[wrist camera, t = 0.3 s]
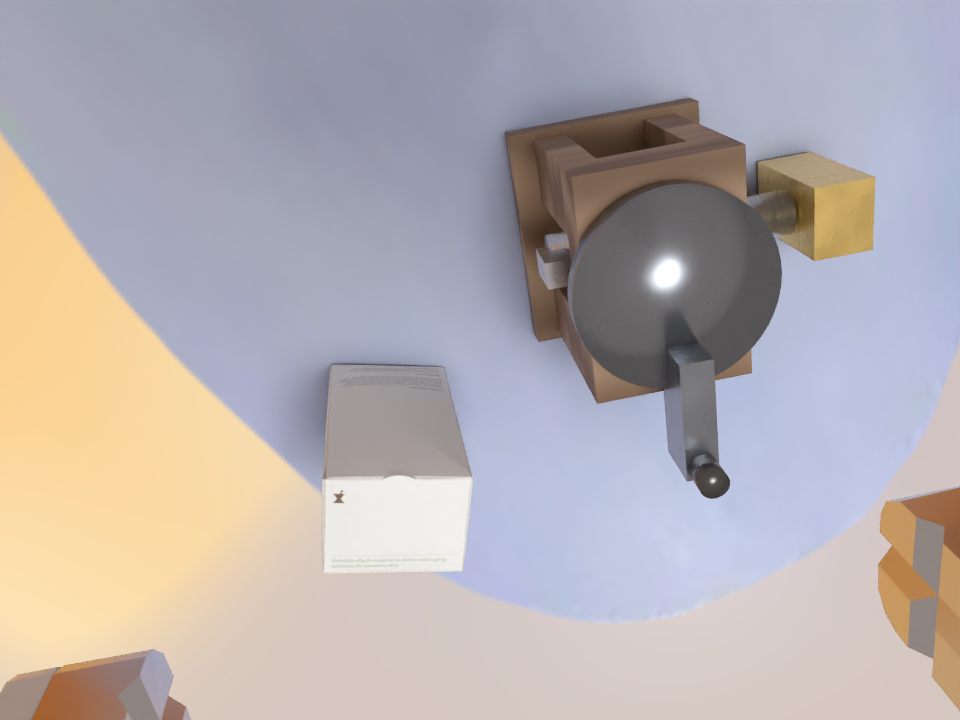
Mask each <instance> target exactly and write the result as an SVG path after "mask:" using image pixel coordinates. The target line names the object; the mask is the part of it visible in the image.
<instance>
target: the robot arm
mask: <svg viewBox="0 0 960 720" xmlns="http://www.w3.org/2000/svg"><path fill="white" fill-rule="evenodd" d="M880 533H881V534H882V535H883V536H884V537H885V538H886V539H887V540H888V542H889V543H890V544H891V545H892V547H891V548H890V549H889V550H888V552H887V553H886V555H885V556H884V557H883V559H882V560H881V561H880V563H879V564H878V589H879V592H880V596H881V599H882V603H883V607H884V610H885V613H886V615H887V617H888V618H889V620H890V622H891V624H892V626H893V628H894V630H895V631H896V632H897V634H898V635H899V636H900V638H901V639H902V640H903V641H904V643H905V644H906V645H907V647H909V648H911V649H913V650H916V651H918V652H920V653H922V654H924V655H926V656H928V657H931V658H933V673H932V677H933V678H934V680H935V681H936V682H937V683H938V685H939V686H940V687H941V688H942V690H943V691H944V692H945V693H946V694H947V695H948V697H949V698H950V699H951V700H952V702H953V703H954V704H955V705H956V707H957V708H958V709H959V710H960V486H958V487H953V488H948V489H944V490H939V491H934V492H929V493H924V494H919V495H915V496H910V497H905V498H901V499H896V500H891V501H886V504H885V506H884V508H883V510H882V512H881V521H880ZM172 680H173V674H172V672H171V669H170V667H169V665H168V663H167V661H166V659H165V656H164V654H163V653H161V652H159V651H156V650H154V649H153V650H148V651H142V652H136V653H131V654H125V655H120V656H114V657H109V658H103V659H97V660H92V661H86V662H81V663H75V664H70V665H65V666H63V667H56V668H51V669H45V670H40V671H35V672H29V673H24V674H19V675H17V676H15V677H14V678H12V679H11V680H10V681H8V682H7V683H6V684H5V685H4V687H3V689H2V691H1V693H0V720H191V718H190V716H189V713H188V711H187V708H186V707H185V706H184V705H182V704H181V703H179V702H177V701H176V700H174V699H173V698H171V697H169V696H168V694H169V691H170V687H171V684H172Z"/></svg>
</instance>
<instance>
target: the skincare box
mask: <svg viewBox="0 0 960 720" xmlns="http://www.w3.org/2000/svg"><path fill="white" fill-rule="evenodd" d="M472 485H473V477H472V474H471V470H470V466H469V463H468V458H467V455H466V451H465V447H464V443H463V439H462V435H461V431H460V427H459V424H458V420H457V416H456V412H455V408H454V404H453V400H452V396H451V392H450V388H449V384H448V381H447V377H446V373H445V370H444V367H427V366H388V365H332V366H331V367H330V377H329V391H328V403H327V416H326V431H325V452H324V471H323V478H322V554H323V572H324V573H358V572H359V573H362V572H433V571H462V570H463V565H464V558H465V550H466V542H467V533H468V524H469V514H470V505H471V495H472Z"/></svg>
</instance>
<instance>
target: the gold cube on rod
mask: <svg viewBox="0 0 960 720" xmlns="http://www.w3.org/2000/svg"><path fill="white" fill-rule="evenodd" d="M874 196H875V177H874V176H871V175H868V174H866V173H863V172H861V171H858V170H856V169H853V168H851V167H848V166H845V165H843V164H840V163H838V162H835V161H833V160H830V159H827V158H825V157H822V156H820V155H817V154H815V153H812V152H807V153H802V154H796V155H791V156H786V157H780V158H775V159H770V160H764V161H759V162H758V195H752V196H747V204H748V205H749V206H751V207H752V208H753V209H754V210H755V211H756V212H757V213H758V214H759V215H760V216H761V217H762V219H763V220H764V221H765V222H766V224H767V225H768V227H769V229H770V230H771V232H772V234H773V236H774V238H775V237H777V238H779V239H780V240H782V241H784V242H785V243H787V244H788V245H790V246H791V247H793V248H795V249H796V250H798V251H799V252H801V253H802V254H804V255H806V256H807V257H809V258H810V259H812V260H814V261H817V260H822V259H827V258H832V257H838V256H843V255H848V254H853V253H858V252H863V251H869V250H873V224H874ZM544 242H545V247H543V248H538V249H536V253H537V261H538V268H539V274H540V276H541V278H542V279H543V281H544V283H545V285H546V286H547V288H548V290H550V289H555V288H560V287H566V286H568V278H569V273H570V268H571V257H570V249H569V241H568V236H567V235H566V234H565V232H564V231H563V232H558V233H552V234H547V235H545V238H544Z"/></svg>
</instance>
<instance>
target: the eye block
mask: <svg viewBox="0 0 960 720" xmlns="http://www.w3.org/2000/svg"><path fill="white" fill-rule="evenodd" d="M505 133H506V140H507V147H508V154H509V161H510V168H511V175H512V182H513V188H514V195H515V202H516V209H517V216H518V223H519V230H520V237H521V244H522V250H523V257H524V264H525V271H526V278H527V285H528V292H529V299H530V306H531V312H532V319H533V326H534V333H535V336H536V338H537V340H538V342H540V341H546V340H551V339H556V338H561V337H562V338H563V340H564V342H565V343H566V345H567V347H568V349H569V351H570V353H571V355H572V357H573V359H574V360H575V362H576V364H577V366H578V368H579V370H580V372H581V374H582V375H583V377H584V379H585V381H586V383H587V385H588V387H589V389H590V391H591V392H592V394H593V396H594V398H595V400H596V402H597V404H598V403H603V402H608V401H613V400H618V399H624V398H629V397H634V396H639V395H644V394H649V393H654V392H659V391H664V389H655V388H646V387H642V386H638V385H634V384H631V383H629V382H626V381H623V380H621V379H620V378H618V377H616V376H614V375H612V374H611V373H610V372H608V371H607V370H606V369H604V368H603V367H602V366H601V365H600V364H599V363H598V362H597V361H596V360H595V359H594V358H593V357H592V355H591V354H590V352H589V351H588V350H587V348H586V347H585V345H584V343H583V341H582V340H581V338H580V336H579V334H578V332H577V330H576V328H575V326H574V324H573V321H572V318H571V315H570V310H569V305H568V291H567V290H568V286H566V287H560V288H555V289H550V290H548V288H547V286H546V285H545V283H544V281H543V279H542V278H541V276H540V274H539V268H538V261H537V253H536V249H538V248H543V247H545V242H544V238H545V235H547V234H552V233H558V232H563V231H564V232H565V234H566V235H567V236H568V241H569V249H570V257H571V264H572V261H573V258H574V255H575V252H576V250H577V248H578V246H579V244H580V242H581V240H582V238H583V237H584V235H585V234H586V232H587V231H588V229H589V228H590V226H591V225H592V224H593V223H594V222H595V221H596V219H597V218H598V217H599V216H600V215H601V214H602V213H603V212H604V211H605V210H606V209H608V208H609V207H610V206H611V205H612V204H614V203H615V202H617V201H618V200H619V199H621V198H622V197H624V196H626V195H628V194H630V193H631V192H633V191H635V190H638V189H640V188H643V187H645V186H648V185H651V184H655V183H659V182H664V181H672V180H692V181H698V182H704V183H707V184H711V185H714V186H717V187H719V188H721V189H723V190H725V191H727V192H729V193H731V194H732V195H734V196H736V197H737V198H739V199H741V200H742V201H743V202H745V203H746V204H747V188H746V153H745V144H743V143H741V142H739V141H736V140H734V139H732V138H729V137H727V136H725V135H723V134H720V133H718V132H716V131H713V130H711V129H709V128H707V127H704V126H702V125H700V124H699V107H698V101H696V100H694V99H691V98H688V99H683V100H677V101H672V102H667V103H661V104H656V105H650V106H645V107H640V108H634V109H629V110H623V111H618V112H613V113H607V114H602V115H596V116H591V117H586V118H580V119H575V120H569V121H564V122H559V123H553V124H548V125H542V126H537V127H532V128H526V129H521V130H515V131H510V132H505ZM750 373H752V362H751V349H750V350H749V352H748V353H747V354H746V355H745V356H744V357H742V358H741V359H740V360H739V361H738V362H736V363H735V364H734V365H733V366H731V367H730V368H728V369H727V370H725V371H724V372H722V373H720V374H718V375H716V376H715V380H719V379H724V378H729V377H734V376H740V375H745V374H750Z"/></svg>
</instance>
